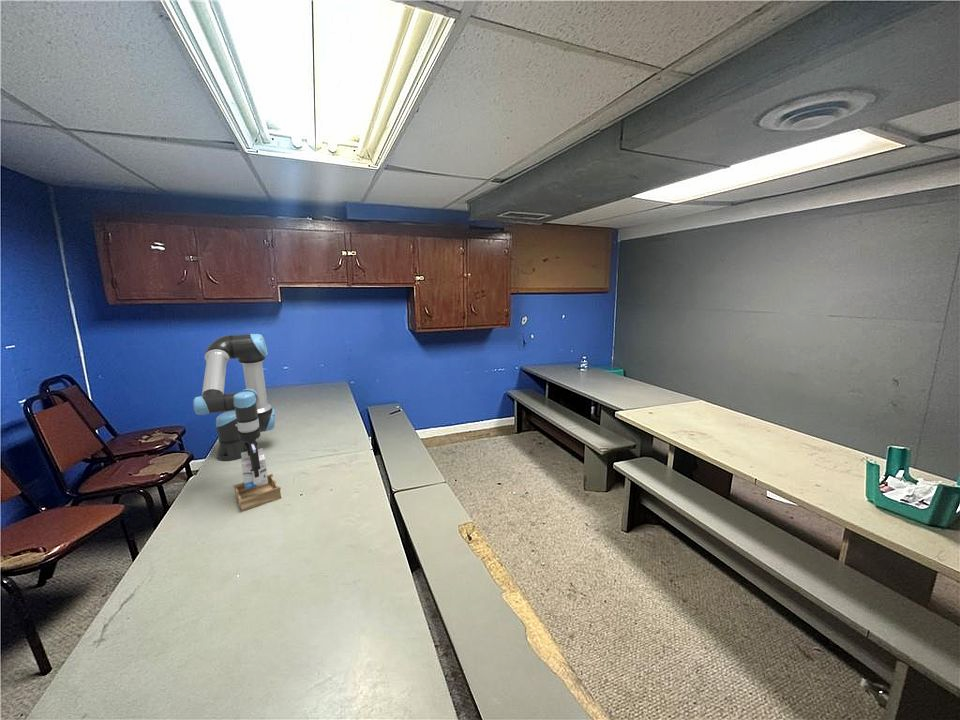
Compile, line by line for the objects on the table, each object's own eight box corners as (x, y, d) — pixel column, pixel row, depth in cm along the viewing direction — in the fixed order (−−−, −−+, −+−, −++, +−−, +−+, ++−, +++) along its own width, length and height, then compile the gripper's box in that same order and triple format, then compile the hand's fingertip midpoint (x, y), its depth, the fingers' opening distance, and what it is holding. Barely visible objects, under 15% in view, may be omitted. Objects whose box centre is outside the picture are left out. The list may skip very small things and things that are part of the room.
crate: (235, 496, 158) (233, 485, 157) (273, 483, 168) (271, 473, 167) (241, 512, 147) (239, 501, 146) (281, 498, 157) (280, 487, 156)
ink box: (244, 489, 152) (240, 457, 149) (244, 484, 156) (239, 452, 153) (268, 483, 156) (264, 452, 153) (267, 478, 160) (263, 447, 157)
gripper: (234, 424, 155) (241, 474, 160) (242, 439, 141) (250, 492, 147) (254, 420, 160) (261, 468, 165) (264, 433, 146) (271, 486, 151)
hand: (255, 480), depth 156 cm, fingers closed on ink box, 5 cm apart
